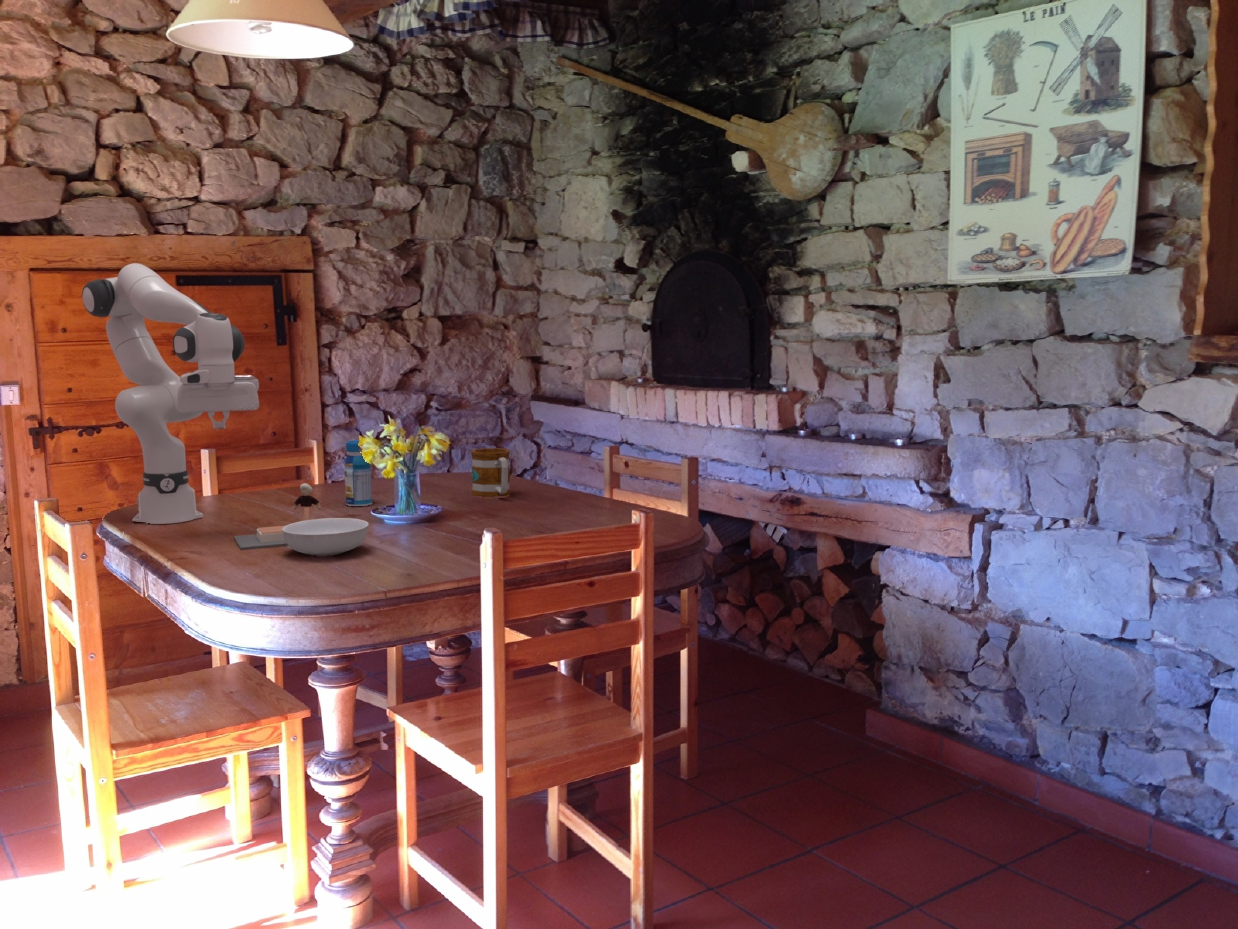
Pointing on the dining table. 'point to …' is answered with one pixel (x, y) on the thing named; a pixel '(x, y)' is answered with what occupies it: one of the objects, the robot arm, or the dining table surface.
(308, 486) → the grandmother figurine
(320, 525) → the serving bowl
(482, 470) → the mug
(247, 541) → the mat
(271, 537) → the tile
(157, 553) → the dining table surface
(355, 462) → the beverage bottle
